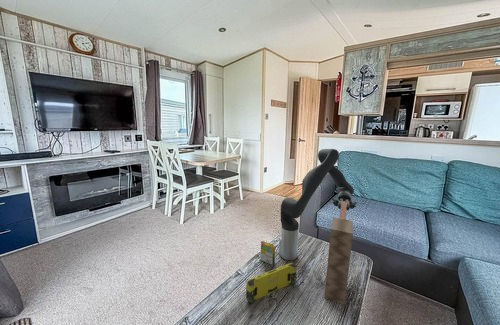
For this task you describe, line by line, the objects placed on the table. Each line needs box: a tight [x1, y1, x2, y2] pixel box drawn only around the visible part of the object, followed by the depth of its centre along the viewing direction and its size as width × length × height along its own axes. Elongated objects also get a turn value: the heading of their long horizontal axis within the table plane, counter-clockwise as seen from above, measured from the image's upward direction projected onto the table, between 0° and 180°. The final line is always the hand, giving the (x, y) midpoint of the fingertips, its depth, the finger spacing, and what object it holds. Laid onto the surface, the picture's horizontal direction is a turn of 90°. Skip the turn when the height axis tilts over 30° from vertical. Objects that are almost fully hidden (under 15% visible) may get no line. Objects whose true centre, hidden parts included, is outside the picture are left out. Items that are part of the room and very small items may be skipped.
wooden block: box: [323, 217, 354, 306], centre depth 91 cm, size 8×12×32 cm, turn 155°
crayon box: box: [259, 240, 276, 266], centre depth 113 cm, size 7×3×12 cm, turn 59°
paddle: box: [339, 201, 347, 220], centre depth 110 cm, size 8×26×3 cm
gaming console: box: [245, 262, 298, 304], centre depth 92 cm, size 26×4×10 cm, turn 119°
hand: (343, 208), depth 114 cm, fingers closed on paddle, 3 cm apart
